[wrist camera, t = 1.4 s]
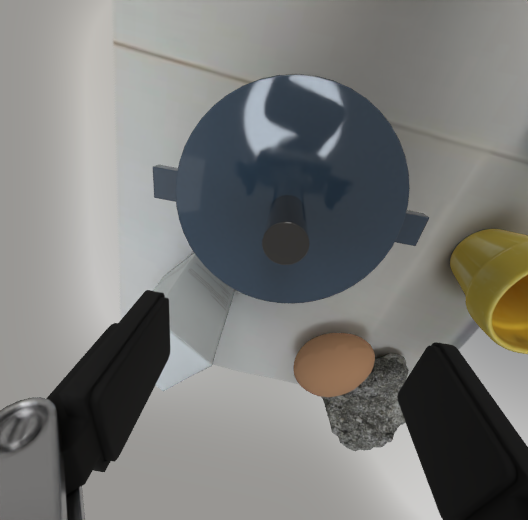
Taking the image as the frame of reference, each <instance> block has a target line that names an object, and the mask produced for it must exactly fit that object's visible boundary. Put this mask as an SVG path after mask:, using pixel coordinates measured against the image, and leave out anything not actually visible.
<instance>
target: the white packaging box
mask: <svg viewBox="0 0 528 520" xmlns="http://www.w3.org/2000/svg"><path fill="white" fill-rule="evenodd" d="M153 291H155V292H161V293H164V295H165V298H168V299H169V315H170V355H169V359H168V361H167V363H166V365H165V367H164V369H163V371H162V373H161V375H160V377H159V379H158V381H157V383H156V386H157V387H158V388H160V389H161V390H162V391H165V390H167V389H169V388H170V387H172V386H174V385H176V384H178V383H179V382H181V381H183V380H185V379H187V378H189V377H190V376H192V375H194V374H196V373H198V372H200V371H202V370H204V369H206V368H208V367H210V366H212V364H213V360H214V356H215V353H216V350H217V346H218V343H219V340H220V337H221V334H222V330H223V327H224V324H225V321H226V318H227V315H228V311H229V308H230V305H231V302H232V298H233V295H234V292H235V289H233V288H231V287H230V286H228V285H227V284H225V283H223V282H222V281H221V280H220V279H218V278H217V277H216V276H214V275H213V274H212V273H211V272H210V271H209V270H208V269H207V268H206V267H205V266H204V265H203V263H202V262H201V261H200V260H199V258H198V257H197V256H196V254H195V253H193V254H192V255H191V256H189V257H188V258H187V259H186V260H184V261H183V262H182V263H181V264H179V265H178V266H177V267H175V268H174V269H173V270H172V271H170V272H169V273H168V274H167V275H165V276H164V277H163V278H162V279H161V281H160V282H159V283H158V285H157V286H156V287H155V289H154V290H153Z"/></svg>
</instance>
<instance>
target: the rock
mask: <svg viewBox="0 0 528 520" xmlns="http://www.w3.org/2000/svg"><path fill="white" fill-rule="evenodd" d="M407 374H408V368H407V367H406V361H405V359H404V357H402V356H401V355H398V354H392V353H389V354H387V355H385V356H383V357H381V358H377V359H375V361H374V366H373V369H372V371H371V373H370V374H369V376H368V377H367V378H366V379H365V381H363V382H362V383H361V384H360V385H359V386H358V387H357V388H355V389H354V390H352V391H350V392H348V393H346V394H343V395H340V396H335V397H322V398H323V400H324V403H325V407H326V411H327V413H328V417H329V421H330V425H331V429H332V432H333V433H334V434H335V435H337V436H338V437H339V440H340V443H342V444H343V445H344V446H346V447H347V448H349V449H351V450H353V451H357V450H370V449H372V448H373V447H383V446H384V445H385V444H386V443H387V442H391V441H392V439H393V435H394V432H395V431H396V430H397V428H398V427H399V426H400V425H401V424H404V423H405V419H404V416H403V414H402V411H401V408H400V406H399V403H398V392H399V390H400V389H401V387H402V386H403V384H404V383H405V380H406V378H407Z"/></svg>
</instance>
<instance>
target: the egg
mask: <svg viewBox="0 0 528 520" xmlns="http://www.w3.org/2000/svg"><path fill="white" fill-rule="evenodd" d="M374 361H375V354H374V351H373V349H372V347H371V345H370V344H369V343H368V342H367V341H365V340H364V339H362V338H361V337H358V336H356V335H353V334H347V333H328V334H323V335H320V336H317V337H315V338H313V339H311V340H310V341H308V342H307V343H306V344H305V345H304V346H303V347H302V348H301V349H300V351H299V352H298V354H297V356H296V358H295V361H294V375H295V378H296V380H297V381H298V383H299V384H300V385H301V386H302V387H303V388H304V389H305V390H306V391H309V392H310V393H312V394H314V395H317V396H321V397H335V396H340V395H343V394H346V393H348V392H350V391H352V390H354V389H355V388H357V387H358V386H359V385H360V384H361V383H362V382H363V381H365V379H366V378H367V377H368V376H369V374H370V373H371V371H372V369H373V366H374Z"/></svg>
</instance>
